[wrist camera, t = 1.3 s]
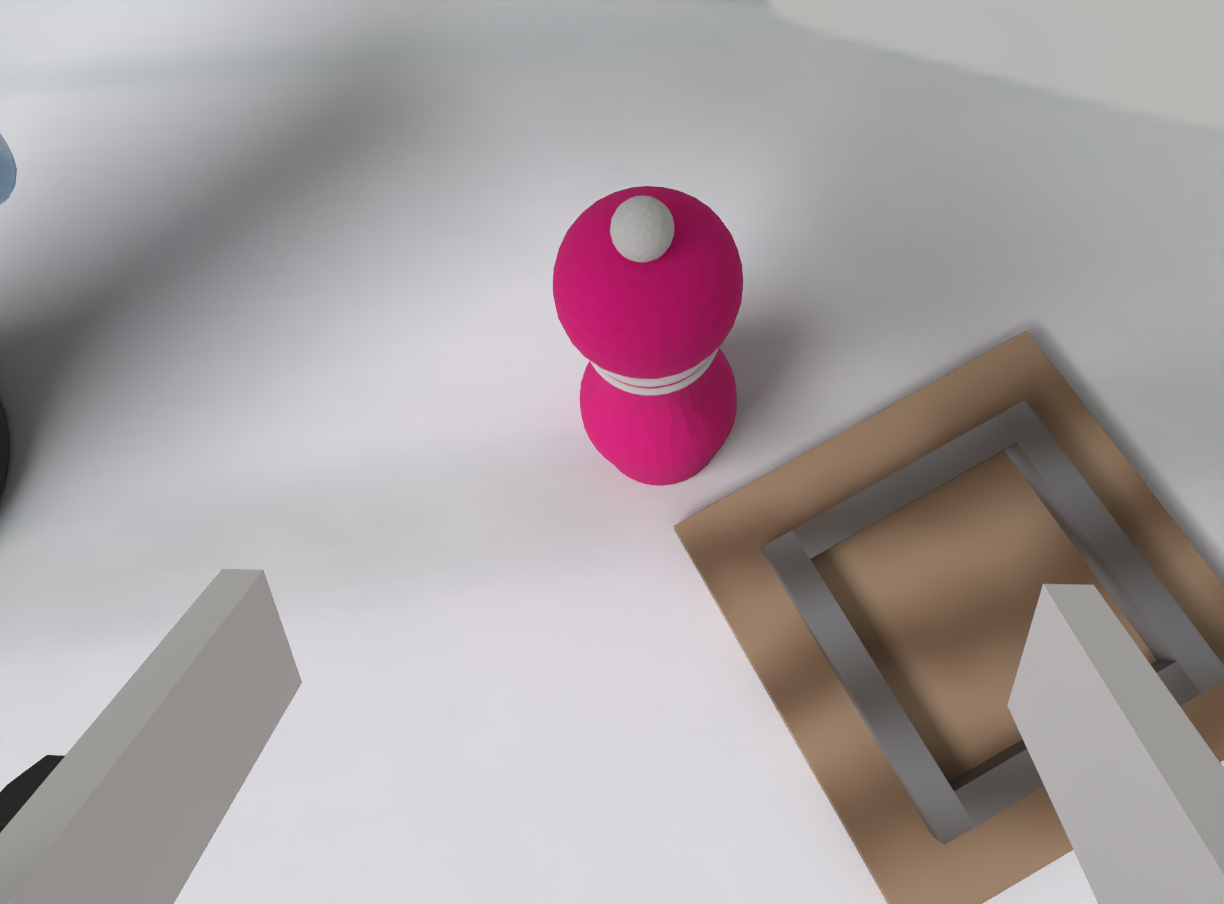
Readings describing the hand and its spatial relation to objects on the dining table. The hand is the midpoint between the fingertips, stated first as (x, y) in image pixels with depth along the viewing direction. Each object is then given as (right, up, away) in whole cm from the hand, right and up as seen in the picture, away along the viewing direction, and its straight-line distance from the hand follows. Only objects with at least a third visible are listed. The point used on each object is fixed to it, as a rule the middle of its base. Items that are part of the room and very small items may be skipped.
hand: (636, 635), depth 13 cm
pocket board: (+16, -4, +23) cm, 28 cm away
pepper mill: (+2, +4, +26) cm, 27 cm away
